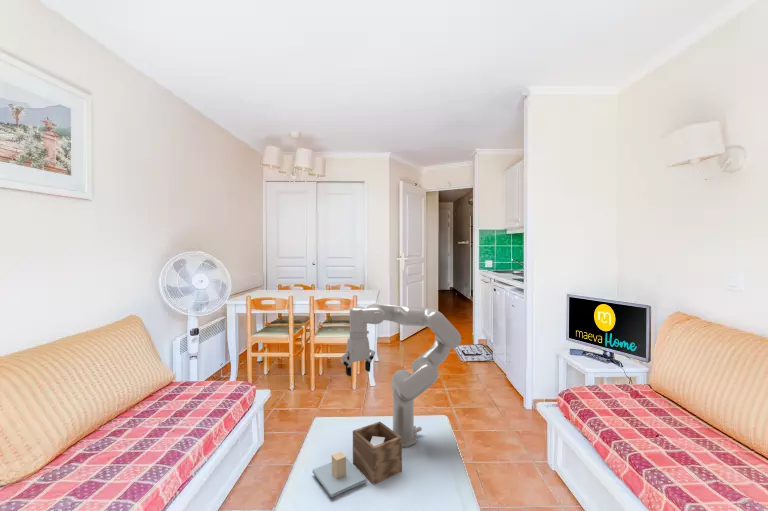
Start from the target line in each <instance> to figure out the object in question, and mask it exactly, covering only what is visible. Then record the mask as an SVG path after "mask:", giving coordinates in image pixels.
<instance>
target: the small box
mask: <svg viewBox="0 0 768 511" xmlns="http://www.w3.org/2000/svg"><path fill="white" fill-rule="evenodd" d="M384 442H385V437H376V436H372V439H371V441H370V443H371V444H372V445H373V446H376V445H379V444H381V443H384Z"/></svg>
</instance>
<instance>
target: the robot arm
mask: <svg viewBox="0 0 768 511" xmlns="http://www.w3.org/2000/svg"><path fill="white" fill-rule="evenodd" d="M383 321H386V322H387V321H388V322H394V323H396V324H399V325H401V326H411V327H416V326H417V327H428V328H429V329H430V330H431V331H432V332H433V333H434V342H433V344H432V345H431V347H430V348H429V349H427V350H426V351H425V352H423V353H422V354H421V355H420V356H418V357H417V358H416V359H415V360H413V362H412V363H411V370H412V373H411V372H409V371H408V370H406V369H398V370H396V371H395V372H394V373H393V375H392V378H391V391H392V431H394V432H395V433H396V434H398V435H399V436H400V437H402V448H409V447H411V446H414V445H415V444H416V443H417V441H418V436H417V435H416V434H417V433H419V432H422V430H423V428H422V427H421V426H416V425H415V424H414V418H415V417H414V416H415V414H414V410H415V409H414V407H415V406H414V404H415V402H414V401H415V399H417V398H418V397H419V396H420V395H422V394H423V393H424V392H425V391H427V390H428V389H429V388H430V387H432V386H433V385H434V383H436V382H437V380H438V377H439V369H438V367H439V366H441V365H442V364H443V363H444V362H445V361H446V359H447V358H448V356H449V355H450V352H451V349H455V348H457V347H458V346H460V345H461V341H462V336H461V333H460V332H459V330H457V328H456V327H455V326H454V324H452V323H451V322H450V321H449V320H448V319H447V318H446V316H445V315H444V314H443V313H442V312H440V311H439V310H437V309H435V308H432V307H419V306H417V307H416V306H403V305H394V304H382V303H371V304H369V305H368V306H366V307H364V306H353V307H351V308H350V309H349V337H348V338H347V341H346V348H345V349H346V350H345V353H344V354H343V355H342V356H341V357H340V358H339V359H340V361H341V363H342V365H344V366H345V374H346V376H348V377H352V367H351V366H352V364H353V363H358V362H362V361H365V363H364V370H365V371H367V372H368V373H369V372H371V363H372V361H373V360H374V358H375V355H376V351H375V350H372V349H370V342H369V337H368V334H370V331H369V330H368V328H367V327H368V324H370V325H379V324H381V323H383Z"/></svg>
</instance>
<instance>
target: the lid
mask: <svg viewBox="0 0 768 511" xmlns="http://www.w3.org/2000/svg"><path fill="white" fill-rule="evenodd" d="M311 471H312V474H313V475H314V476H315V477H316V479H317V481H318V482H319V484H321V486H322V487H323V488H324V490H325V492H327V494H328V495H329V496H330V497H331V498H333V497H336V496H337V495H339V494H342V493H343V492H347V491H348V490H351V489H353V488H356V487H357V486H360V485H361V484H363V483H366V482H367V478H366V477H365V476H364V475H363V474H362V473H361V472H360V471H359V469H358V468H357V467H356V466H355V465H354V464H353V462H351V461H350V460H349V459H348V458H347V456H346V455H345V454H344V453H343V452H342V451H339V452H336V453H333V454H331V462H329V463H326V464H324V465H321V466H319V467H316V468H314V469H313V468H312V470H311Z"/></svg>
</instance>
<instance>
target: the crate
mask: <svg viewBox="0 0 768 511" xmlns="http://www.w3.org/2000/svg"><path fill="white" fill-rule="evenodd" d="M372 436H376V437H385V442H384V443H381V444H379V445H376V446H373V445H372V444H371V443H370V441H371V439H372ZM352 464H353V465H354V466H355V467H356V468H357V469H358V470H359V472H360V473H361V474H362V475H363V476H364V477H365V478H366V480H368V481H369V482H370V483H371V484H372V485H373V486H374V485H375V484H378V483H380V482H383V481H385V480H386V479H389V478H391V477H393V476H396V475H397V474H400V473H402V472H403V447H402V437H400V436H399V435H398V434H396V433H395V432H394V431H393V429H391V428H390V427H388V426H387V425H385V423H383V422H381V421H377V422H374V423H372V424H368V425H365V426H363V427H360V428H357V429H354V430H352Z"/></svg>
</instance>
